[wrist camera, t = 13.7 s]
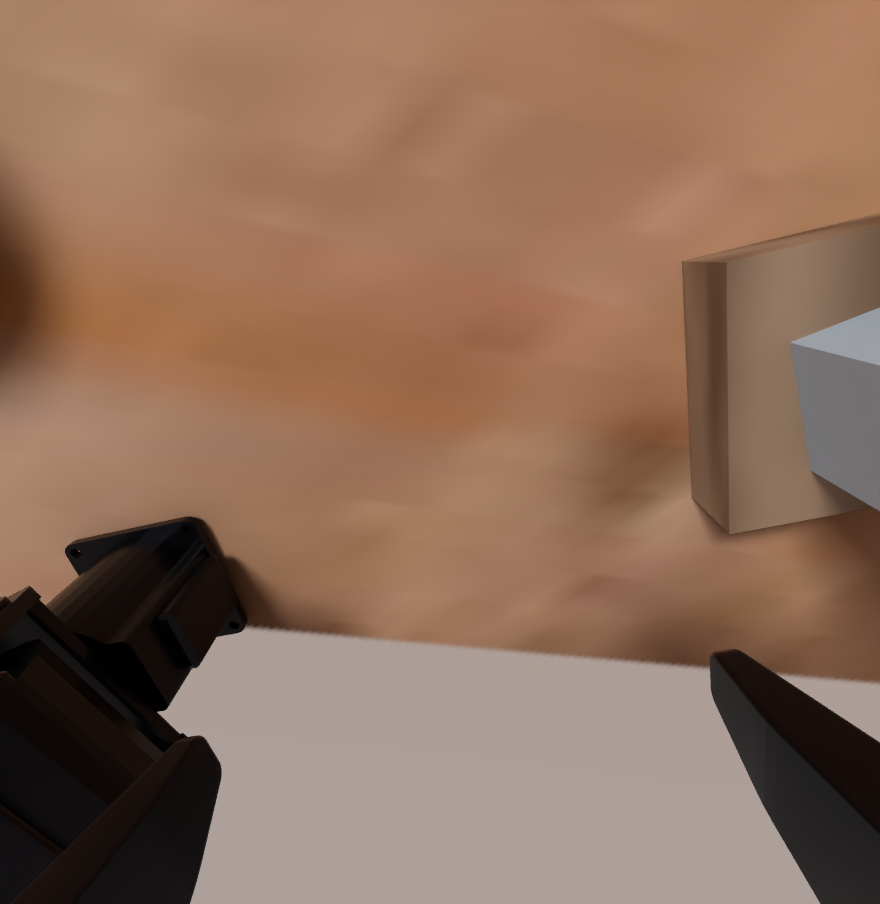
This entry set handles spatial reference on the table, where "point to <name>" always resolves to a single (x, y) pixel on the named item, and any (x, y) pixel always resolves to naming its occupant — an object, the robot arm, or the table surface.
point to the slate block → (842, 403)
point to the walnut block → (767, 368)
